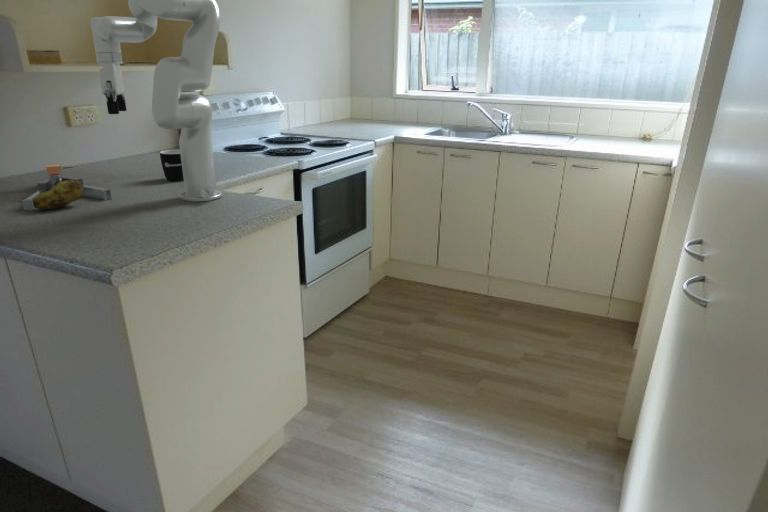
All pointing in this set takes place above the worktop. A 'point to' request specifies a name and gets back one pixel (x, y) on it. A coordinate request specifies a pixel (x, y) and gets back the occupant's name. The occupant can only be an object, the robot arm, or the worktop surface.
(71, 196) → the potato
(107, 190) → the tongs jaw
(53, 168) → the tab
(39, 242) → the worktop surface
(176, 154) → the mug
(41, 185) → the tongs fixed
